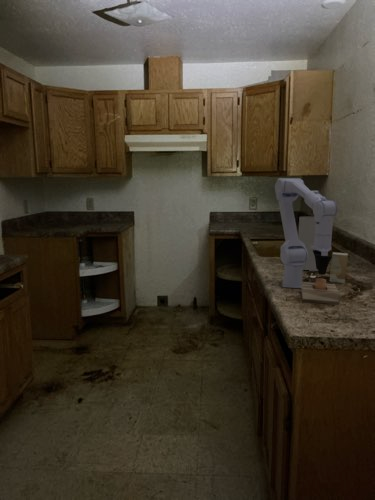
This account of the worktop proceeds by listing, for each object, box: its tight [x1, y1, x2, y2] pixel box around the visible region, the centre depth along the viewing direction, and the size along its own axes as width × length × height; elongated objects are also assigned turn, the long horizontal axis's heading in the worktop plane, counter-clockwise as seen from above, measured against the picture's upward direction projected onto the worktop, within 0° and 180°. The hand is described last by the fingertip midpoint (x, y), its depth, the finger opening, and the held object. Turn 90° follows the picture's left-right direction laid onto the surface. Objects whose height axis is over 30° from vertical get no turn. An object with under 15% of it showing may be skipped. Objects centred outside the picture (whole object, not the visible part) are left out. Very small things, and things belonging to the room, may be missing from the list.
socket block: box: [300, 281, 340, 305], centre depth 140 cm, size 12×12×4 cm
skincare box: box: [329, 251, 349, 284], centre depth 162 cm, size 6×4×12 cm
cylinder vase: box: [297, 216, 318, 272], centre depth 184 cm, size 12×12×25 cm
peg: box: [315, 277, 327, 290], centre depth 139 cm, size 4×4×6 cm
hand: (320, 271), depth 138 cm, fingers open, 7 cm apart
